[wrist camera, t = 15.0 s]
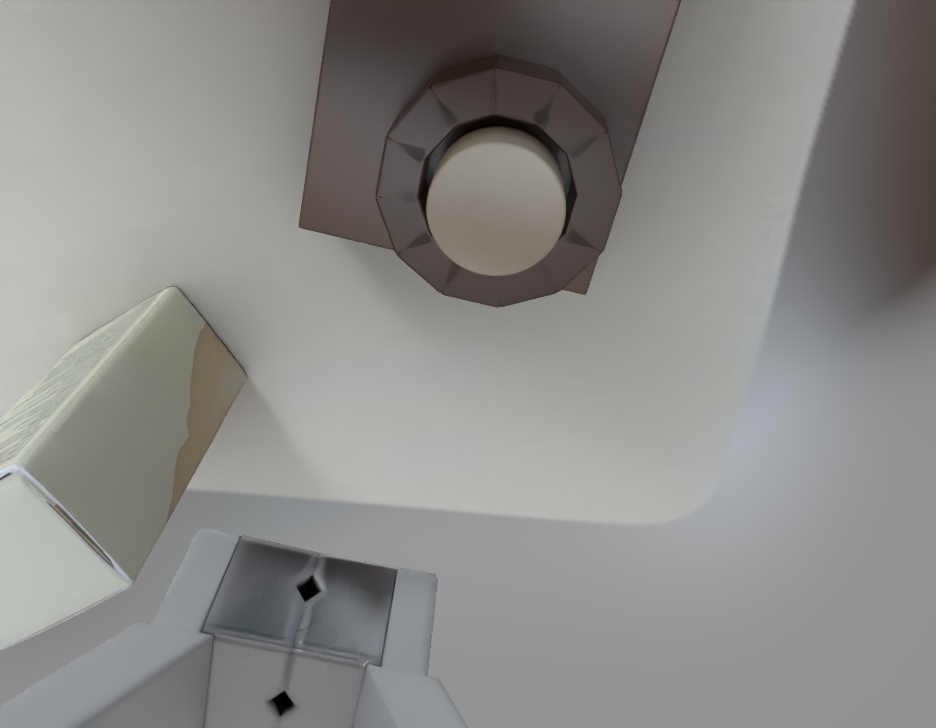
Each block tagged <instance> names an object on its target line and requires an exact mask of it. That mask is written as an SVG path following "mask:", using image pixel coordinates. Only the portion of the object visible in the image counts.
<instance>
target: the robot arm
mask: <svg viewBox="0 0 936 728" xmlns="http://www.w3.org/2000/svg"><path fill="white" fill-rule="evenodd" d="M437 582H438V580H437V577H436V574H432V573H427V572H422V571H416V570H411V569H406V568H400V567H398V568H397V570H396V567H392V566H387V565H381V564H376V563H372V562H367V561H361V560H356V559H351V558H346V557H341V556H335V555H330V554H325V553H318V552H314V551H310V550H305V549H301V548H296V547H292V546H287V545H283V544H279V543H274V542H270V541H265V540H260V539H256V538H252V537H248V536H238V535H234V534H230V533H226V532H221V531H217V530H212V529H208V528H204V527H202V528H201V529H200V530H199V531H198V532H197V533H196V534H195V536H194V538H193V540H192V542H191V544H190V546H189V548H188V550H187V552H186V554H185V556H184V558H183V560H182V562H181V565H180V567H179V569H178V571H177V573H176V575H175V577H174V579H173V581H172V583H171V585H170V587H169V589H168V591H167V593H166V595H165V597H164V599H163V602H162V604H161V606H160V608H159V610H158V612H157V614H156V616H155V618H154V620H153V622H152V623H148V622H142V621H139V622H137V623H136V624H134V625H132V626H131V627H129V628H127V629H126V630H124V631H122V632H121V633H119V634H117V635H116V636H114V637H112V638H111V639H109V640H107V641H106V642H104V643H102V644H101V645H99V646H97V647H96V648H94V649H92V650H91V651H89V652H88V653H86V654H84V655H82V656H81V657H79V658H78V659H76V660H74V661H72V662H71V663H69V664H67V665H66V666H64V667H63V668H61V669H59V670H57V671H56V672H54V673H53V674H51V675H49V676H47V677H46V678H44V679H42V680H41V681H39V682H38V683H36V684H34V685H33V686H31V687H29V688H28V689H26V690H24V691H23V692H21V693H19V694H18V695H16V696H14V697H13V698H11V699H9V700H8V701H6V702H4V703H3V704H1V705H0V728H468V727H467V725H466V723H465V722H464V720H463V718H462V717H461V715H460V713H459V712H458V710H457V708H456V706H455V705H454V703H453V701H452V700H451V698H450V697H449V695H448V693H447V691H446V689H445V688H444V686H443V684H442V683H441V681H440V680H439V679H437V678H433V677H428V667H429V658H430V648H431V637H432V629H433V620H434V610H435V601H436V592H437Z"/></svg>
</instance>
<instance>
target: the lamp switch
mask: <svg viewBox="0 0 936 728" xmlns="http://www.w3.org/2000/svg"><path fill="white" fill-rule="evenodd" d="M426 213H427V221H428V225H429V228H430V231H431V233H432V236H433V238H434V240H435V241H436V243H437V245H438V246H439V248H440V249H441V250H442V251H443V253H444V254H445V255H446V256H447V257H448V258H450V259H451V260H452V261H453V262H455V263H456V264H458V265H459V266H461V267H463V268H465V269H467V270H469V271H472V272H475V273H478V274H483V275H489V276H503V275H510V274H515V273H518V272H521V271H524V270H526V269H528V268H530V267H532V266H534V265H535V264H537V263H538V262H540V261H541V260H542V259H543V258H544V257H545V256H546V255H547V254H548V253H549V252H550V251H551V250H552V249H553V247H554V246H555V244H556V243H557V241H558V239H559V237H560V235H561V233H562V230H563V227H564V223H565V217H566V200H565V192H564V184H563V179H562V174H561V171H560V168H559V165H558V163H557V161H556V159H555V157H554V156H553V155H552V153H551V152H550V150H549V149H548V148H547V147H546V146H545V145H544V144H543V143H542V142H541V141H539V140H538V139H537V138H535V137H534V136H532V135H531V134H529V133H527V132H524V131H522V130H519V129H516V128H512V127H506V126H489V127H484V128H479V129H476V130H474V131H471V132H469V133H467V134H465V135H463V136H462V137H460V138H459V139H457V140H456V141H455V142H454V143H453V144H452V145H451V146H449V148H448V149H447V150H446V151H445V152H444V154H443V155H442V157H441V159H440V160H439V162H438V165H437V167H436V169H435V173H434V176H433V179H432V182H431V185H430V189H429V192H428V196H427V203H426Z"/></svg>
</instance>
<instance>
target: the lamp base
mask: <svg viewBox="0 0 936 728" xmlns="http://www.w3.org/2000/svg"><path fill="white" fill-rule="evenodd" d="M680 3H681V0H330V7H329V14H328V21H327V28H326V35H325V42H324V49H323V56H322V63H321V70H320V77H319V85H318V92H317V99H316V106H315V113H314V120H313V127H312V134H311V141H310V148H309V155H308V162H307V170H306V177H305V184H304V191H303V198H302V205H301V212H300V219H299V227H300V228H302V229H307V230H311V231H315V232H319V233H324V234H328V235H332V236H336V237H341V238H345V239H349V240H353V241H358V242H362V243H366V244H370V245H375V246H379V247H383V248H387V249H392V250H394V252H395V253H396V254H397V256H398V257H399V258H400V259H401V260H402V261H404V262H405V263H406V264H407V265H408V266H409V267H411V268H412V269H413V270H414V271H415V272H416V273H417V274H419V275H420V276H421V277H422V278H423V279H424V280H426V281H427V282H428V283H429V284H430V285H431V286H432V287H434V288H435V289H436V290H437V291H438V292H440V293H442V294H443V295H446V296H450V297H455V298H459V299H463V300H468V301H472V302H476V303H480V304H485V305H489V306H493V307H504V306H508V305H512V304H516V303H520V302H524V301H528V300H532V299H536V298H539V297H543V296H547V295H551V294H555V293H557V292H559V291H561V290H566V291H570V292H574V293H579V294H583V295H586V293H587V291H588V288H589V285H590V282H591V278H592V275H593V272H594V269H595V266H596V263H597V260H598V257H599V255H600V254H601V253H602V252H603V251H604V249H605V246H606V243H607V239H608V236H609V233H610V230H611V227H612V224H613V221H614V218H615V215H616V212H617V209H618V206H619V203H620V200H621V197H622V188H621V186H622V183H623V180H624V176H625V173H626V170H627V167H628V164H629V161H630V158H631V155H632V152H633V149H634V146H635V142H636V139H637V136H638V133H639V130H640V127H641V124H642V121H643V118H644V115H645V112H646V109H647V105H648V102H649V99H650V96H651V93H652V90H653V87H654V84H655V81H656V78H657V75H658V71H659V68H660V65H661V62H662V59H663V56H664V53H665V50H666V47H667V44H668V41H669V37H670V34H671V31H672V28H673V25H674V22H675V19H676V16H677V13H678V10H679V7H680ZM489 126H506V127H512V128H516V129H519V130H522V131H524V132H527V133H529V134H531V135H532V136H534V137H535V138H537V139H538V140H539V141H541V142H542V143H543V144H544V145H545V146H546V147H547V148H548V149H549V150H550V152H551V153H552V155H553V156H554V157H555V159H556V161H557V163H558V165H559V168H560V171H561V174H562V179H563V184H564V192H565V200H566V217H565V223H564V227H563V230H562V233H561V235H560V237H559V239H558V241H557V243H556V244H555V246H554V247H553V249H552V250H551V251H550V252H549V253H548V254H547V255H546V256H545V257H544V258H543V259H542V260H541V261H540V262H538V263H537V264H535V265H534V266H532V267H530V268H528V269H526V270H524V271H521V272H518V273H515V274H510V275H503V276H489V275H483V274H478V273H475V272H472V271H469V270H467V269H465V268H463V267H461V266H459V265H458V264H456V263H455V262H453V261H452V260H451V259H450V258H448V257H447V256H446V255H445V254H444V253H443V251H442V250H441V249H440V248H439V246H438V245H437V243H436V241H435V240H434V238H433V236H432V233H431V231H430V228H429V225H428V221H427V213H426V203H427V196H428V192H429V189H430V185H431V182H432V179H433V176H434V173H435V169H436V167H437V165H438V162H439V160H440V159H441V157H442V155H443V154H444V152H445V151H446V150H447V149H448V148H449V146H451V145H452V144H453V143H454V142H455V141H456V140H457V139H459V138H460V137H462V136H463V135H465V134H467V133H469V132H471V131H474V130H476V129H479V128H484V127H489Z"/></svg>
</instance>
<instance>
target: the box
mask: <svg viewBox="0 0 936 728" xmlns="http://www.w3.org/2000/svg"><path fill="white" fill-rule="evenodd" d="M245 380H246V374H245V372H244V371H243V370H242V368H241V367H240V366H239V364H238V363H237V362H236V360H235V359H234V358H233V356H232V355H231V354H230V353H229V351H228V350H227V349H226V347H225V346H224V345H223V343H222V342H221V341H220V340H219V338H218V337H217V336H216V335H215V333H214V332H213V331H212V329H211V328H210V327H209V326H208V324H207V323H206V322H205V321H204V319H203V318H202V317H201V316H200V314H199V313H198V312H197V311H196V309H195V308H194V307H193V306H192V305H191V303H190V302H189V301H188V300H187V298H186V297H185V296H184V295H183V294H182V292H181V291H180V290H179V289H178V288H177V287H169V288H167V289H165V290H163V291H161V292H160V293H158V294H156V295H154V296H152V297H150V298H149V299H147V300H145V301H143V302H142V303H140V304H138V305H137V306H135V307H133V308H132V309H130V310H128V311H127V312H125V313H124V314H122V315H120V316H119V317H117V318H116V319H114V320H113V321H111V322H109V323H108V324H106V325H105V326H103V327H101V328H100V329H98V330H97V331H95V332H93V333H92V334H90V335H89V336H87V337H86V338H84V339H83V340H81V341H80V342H78V343H77V344H75V345H74V346H72V347H71V348H70V349H69V350H68V351H67V352H66V353H65V354H64V355H63V356H62V358H61V359H60V360H59V361H58V362H57V363H56V364H55V365H54V366H53V367H52V368H51V369H50V370H49V371H48V372H47V373H46V374H45V375H44V376H43V377H42V378H41V379H40V380H39V381H38V382H37V383H36V384H35V385H34V386H33V387H32V388H31V389H30V390H29V391H28V392H27V393H26V394H25V395H24V396H23V397H22V398H21V399H20V400H19V401H18V402H17V403H16V404H15V405H14V406H13V407H12V408H11V409H10V410H9V411H8V412H7V413H6V414H5V415H4V416H3V417H2V418H1V419H0V650H3V649H6V648H8V647H10V646H12V645H15V644H17V643H19V642H21V641H23V640H25V639H27V638H30V637H32V636H35V635H36V634H38V633H41V632H43V631H45V630H47V629H49V628H51V627H53V626H55V625H57V624H59V623H61V622H64V621H65V620H67V619H69V618H71V617H73V616H75V615H77V614H79V613H82V612H83V611H85V610H87V609H89V608H91V607H93V606H95V605H97V604H99V603H100V602H103V601H105V600H107V599H109V598H110V597H112V596H114V595H116V594H118V593H119V592H122V591H123V590H126V589H128V588H130V587H131V586H132V585H133V584H134V582H135V580H136V578H137V576H138V574H139V572H140V571H141V569H142V567H143V565H144V563H145V561H146V559H147V558H148V556H149V554H150V552H151V551H152V549H153V547H154V545H155V543H156V542H157V540H158V538H159V536H160V534H161V532H162V531H163V529H164V527H165V525H166V523H167V522H168V520H169V518H170V516H171V514H172V512H173V511H174V509H175V507H176V505H177V504H178V502H179V500H180V498H181V496H182V495H183V492H184V491H185V489H186V487H187V485H188V484H189V482H190V480H191V478H192V476H193V475H194V473H195V471H196V469H197V467H198V466H199V464H200V462H201V460H202V458H203V457H204V455H205V453H206V451H207V449H208V448H209V446H210V444H211V443H212V441H213V439H214V437H215V435H216V433H217V432H218V430H219V428H220V426H221V424H222V422H223V420H224V418H225V417H226V415H227V413H228V411H229V409H230V408H231V406H232V404H233V402H234V400H235V398H236V396H237V395H238V393H239V391H240V389H241V388H242V386H243V384H244V382H245Z"/></svg>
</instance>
